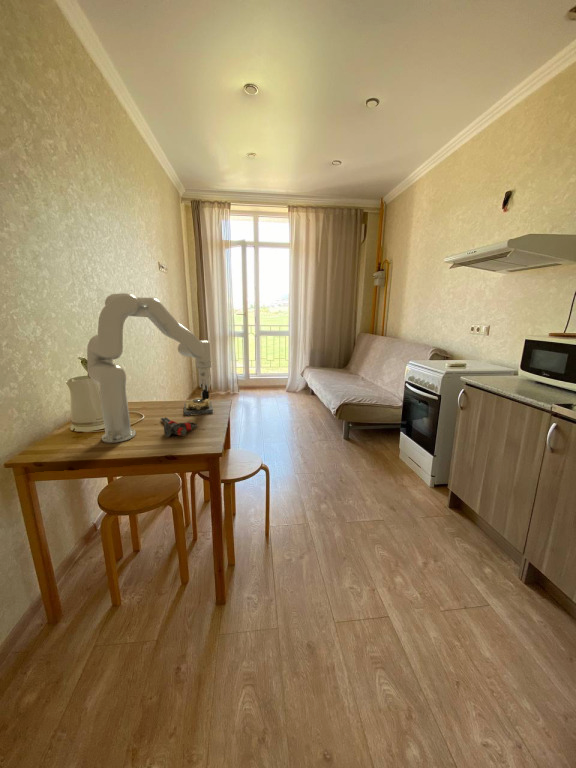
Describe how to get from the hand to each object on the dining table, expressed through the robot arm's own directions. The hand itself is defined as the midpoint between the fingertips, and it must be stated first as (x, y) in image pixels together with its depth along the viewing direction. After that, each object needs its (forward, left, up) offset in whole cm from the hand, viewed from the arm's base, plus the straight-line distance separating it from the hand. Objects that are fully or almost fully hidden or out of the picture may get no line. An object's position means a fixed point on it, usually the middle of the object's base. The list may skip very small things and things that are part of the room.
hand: (205, 398), depth 161 cm
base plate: (+1, +4, -6) cm, 7 cm away
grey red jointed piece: (-22, +14, -7) cm, 27 cm away
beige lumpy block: (+1, +4, -4) cm, 6 cm away
